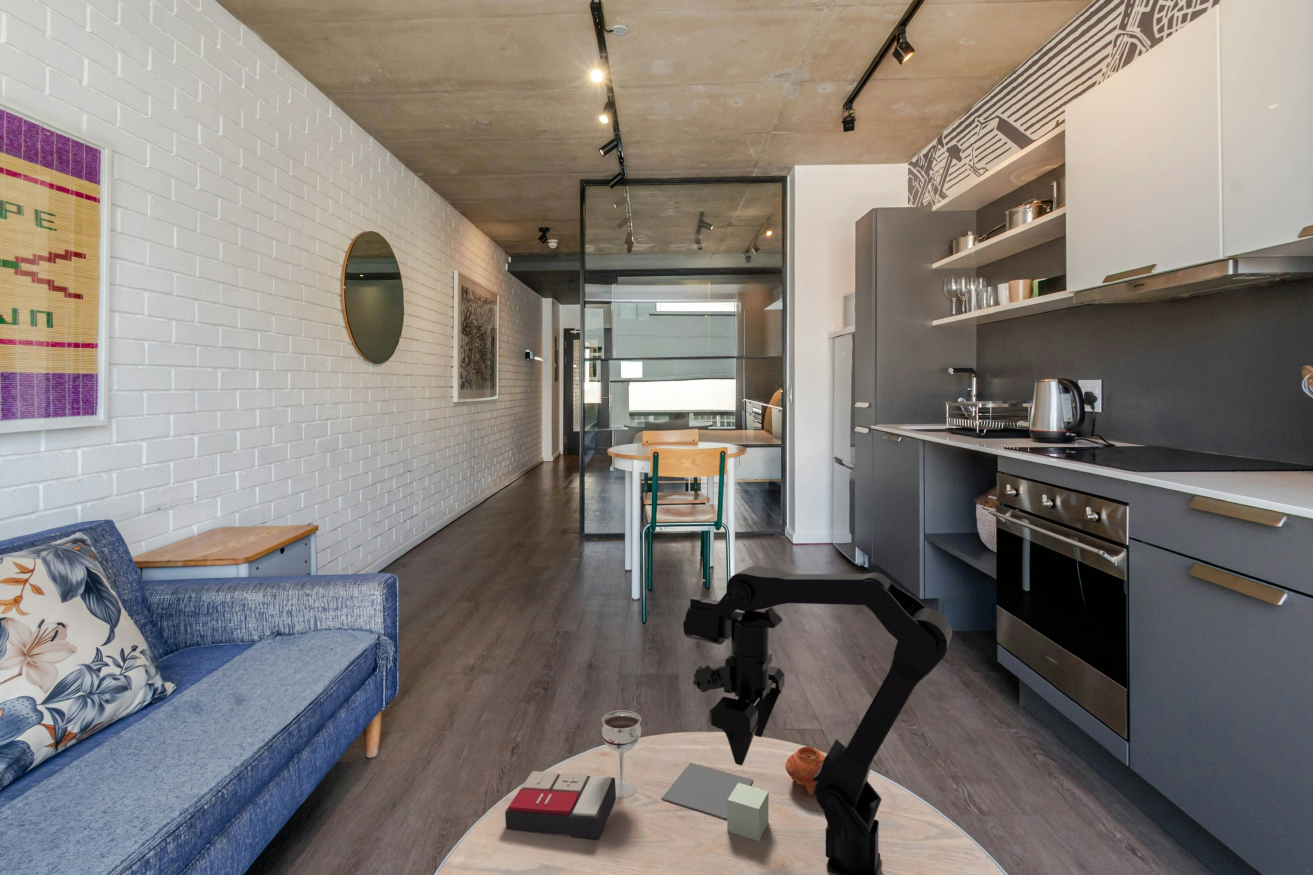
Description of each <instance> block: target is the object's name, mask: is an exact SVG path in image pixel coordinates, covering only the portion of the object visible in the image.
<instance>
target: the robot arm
mask: <svg viewBox="0 0 1313 875" xmlns="http://www.w3.org/2000/svg"><path fill="white" fill-rule="evenodd" d="M689 601H690V603H689V604H690V605H689V607H688V609H687V610H686V613H685V617H684V621H683V624H682V625H683V627H682V628H683V633H684V637H686V638H687V639H689V640H694V641H699V642H704V643H709V644H712V645H713V644H714V645H719V646H721V645H723V644H724V643H725V642H726V640H730V639H731V640H730V643H731V644H730V647H731V648H730V655H729V656H728V657H727V658H723V659H719V660H714V661H712V660H711V661H707V662H705V663H703V664H702V665H700V666H698V667H697V668H696V669H695V671H694V673H693V678H694V679H693V681H692V684H693V685H694V686H696V688H697V689H698V690H699V691H700V693H706V692H708V691H712V690H717V689H721V688H722V689H723V692H724V693H726V694H732V693H733V694H734V696H736V697H737V698H732V697H727V696H722V697H721V698H720V699H719V700H718V701H717V702H715V704H714V705H713V706H712V707H711V708H710V709H709V713H708V714H709V717H708V718H709V719H708V720H709V722H708V723H709V725H710V726H711V727H712V726H713V727H715V728H717V729H719V730H722V731H723V732H724V733H725V735H726V738H727V741H728V744H729V747H730V750H731V754H732V756H733V760H734V763H735V764H736V765H739V766H743V765H744V762H745V760H746V758H747V755H748V752H749V749H750V748H751V745H752V742H753V740H754V736H755V737H759V738H762V737H763V735H764V732H765V730H766V728H767V725H768V723H769V720H770V718H771V716H772V714H773V712H774V709H775V708H776V704H777V703H778V700H779V698H780V696H781V694H782V689H783V688H784V686H785V680H786V679H785V672H783V671H782V669H781V668H780V667H777V666H771V665H770V664H771V663H772V661H773V654H771V653H769V645H770V644H769V642H770V641H769V640H770V638H769V636H770V634H769V632H770V631H769V629H775V628H777V627H778V626H779V625H780V624H781V623H782V622H783V618H782V617H781V616H780V615H779V614H778V613H777V612H775V610H774V609H773V607H775V606H777V607H778V606H781V605H785V604H803V605H804V604H806V605H807V604H809V605H840V606H841V605H845V606H846V605H847V606H848V605H849V606H865V607H866V608H868V610H870V611H871V612H872V614H874V616H875V617H876V619H878V621H879V622H880V624H882V626H883V627H884V628H885V630H886V632H888V633H889V635H890V636H892V637H893V638H894V639H895V640H897V642H896V644H895V648H894V652H893V656H892V660H891V663H890V667H889V671H888V672H887V675H886V676H885V678H884V680H883V682H882V683H881V685H880V687H879V688H878V690H877V691H876V694H875V696H874V697H873V699H872V701H871V703H870V704H869V706H868V707H867V709H866V711H865V713H864V716H862V719H861V721H860V722H859V724H858V726H857V727H856V729H855V732H854V733H853V735H852V737H851V738H850V739H849V741H847V742H846V743H845V744H843V743H842V742H840V741H839V739H838V738H835V740H834V742H833V743H832V745H831V746H830V749H829V750H828V751H827V753H826V755H825V759H824V761H823V763H822V764H821V766H820V768H819V769H818V771H817V773H816V774H815V776H814V778H813V780H814V781H817V783H816V785H815V788H814V791H813V795H814V797H815V800H816V802H817V803H818V805H819V807H820V808H821V810H822V811H823V814H824V817H825V821H826V824H827V825H826V828H825V852H824V853H825V857H826V858H828V860H827V863H826V870H827V871H829V872H831V873H834V874H837V875H878V872H879V866H880V861H881V853H879V832H880V831H879V828H880V827H879V825H880V824H879V820H878V819H875V818H876V816H877V813H878V810H879V807H880V805H881V802H882V797H881V796H880V794H879V793H878V792H877V791H876V790H875V789H874V788H873V786H872V785H871V784H870V782H869V781H868V778H869V776H870V775H869V774H870V771H871V769H872V768H871V767H872V765H873V764H872V763H873V760H874V758H875V756H876V754H877V753H878V751H879V749H880V748H881V746H882V744H883V742H884V740H885V739H886V738H887V735H888V733H890V731H891V729H892V727H893V725H894V723H895V721H896V720H897V718H898V716H899V715H900V713H901V711H902V710H903V708H904V706H905V704H906V703H907V701H908V700H909V698H910V696H911V694H912V692H913V691H914V689H915V687H916V686H917V685H918V684H919V683H920V682H921V681H922V680H924V679H925V678H926V677H927V676H928V675H930V673H931V672H933V671H934V669H935V668H936V667H937V665H939V663H940V662H941V661H942V660H944V658H945V656H946V653H947V650H948V648H949V645H950V641H951V640H952V637H953V629H952V626H951V623H950V621H949V620H948V618H947V617H946V616H945V615H944V614H943V613H941V612H940V611H938V610H936V609H933V608H929V607H927V606H926V605H925V604H924V603H922V602H921V601H920V600H919V599H918V598H916V597H915V596H913V595H912V594H910V593H908V592H907V591H906V590H904V589H902V588H900V586H897V585H896V584H895V583H893V582H892V581H891V580H890V579H889V578H888V577H887V576H886V575H884V574H883V573H880V572H870V573H867V574H866V573H865V574H864V573H863V574H862V573H860V574H859V573H856V574H855V573H844V574H843V573H841V574H839V573H830V574H829V573H822V574H821V573H819V574H818V573H807V574H806V573H804V574H803V573H797V574H796V573H794V574H793V573H789V572H785V571H782V570H779V569H776V568H773V567H772V568H771V567H767V566H760V565H752V566H751V565H750V566H749V567H746V568H745V569H743V570H741V571H739V572H737V573H735V574H733V575H731V576H730V578H729V579H728V581H727V583H726V592H725V593H724V595H723V596H722V598H720V600H717V599H711V598H707V597H704V596H699V595H696V596H694V597H692V598H690V600H689ZM763 609H766V610H764V611H762V610H763ZM737 610H738V611H737ZM740 611H741V612H740ZM774 686H775V687H774Z"/></svg>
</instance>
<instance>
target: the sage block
mask: <svg viewBox="0 0 1313 875" xmlns="http://www.w3.org/2000/svg"><path fill="white" fill-rule="evenodd" d="M769 792H770V791H769V790H765V789H762V788H758V787H754V786H748V785H745V784H741V783H738V784H737V786H736V787H735V789H734V790H733V792H732V793H731V795H730V797H729V798H728V800H727V821H726V823H727V824H726V825H727V826H726V828H727V829H726V830H727V833H732V834H735V835H738V836H740V837H741V836H742V837H744V838H746V839H750V840H754V841H757V842H759V841H760V840H761V838H762V835H763V834H764V831H765V830H766V827H767V825H768V824H769Z"/></svg>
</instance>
